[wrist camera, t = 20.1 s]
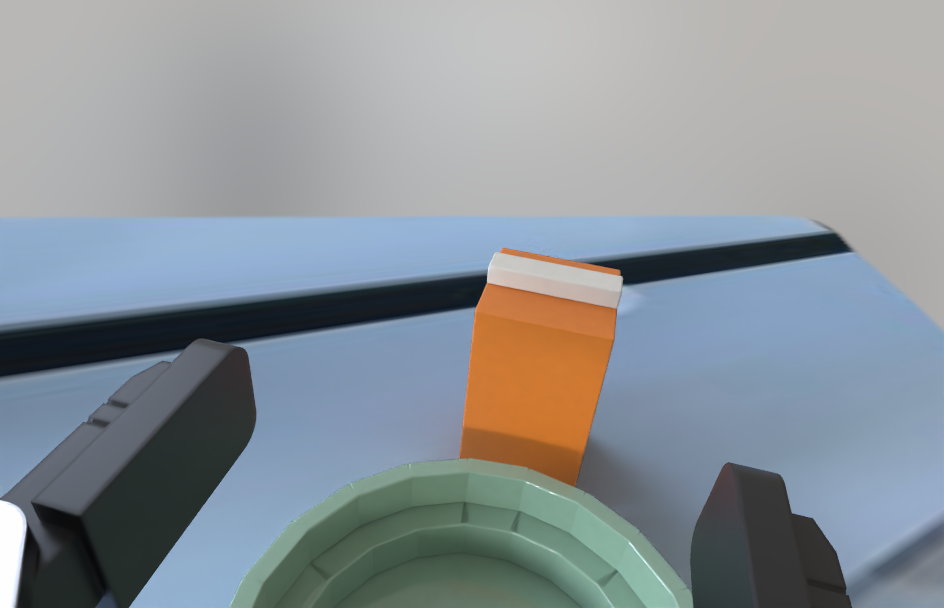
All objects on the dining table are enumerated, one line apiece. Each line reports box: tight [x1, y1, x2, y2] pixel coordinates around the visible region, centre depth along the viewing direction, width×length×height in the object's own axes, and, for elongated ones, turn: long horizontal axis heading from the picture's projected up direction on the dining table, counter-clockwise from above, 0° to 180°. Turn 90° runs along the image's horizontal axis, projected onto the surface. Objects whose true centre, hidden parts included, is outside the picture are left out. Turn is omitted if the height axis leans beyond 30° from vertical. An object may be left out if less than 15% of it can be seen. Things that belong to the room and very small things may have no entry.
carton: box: [459, 248, 623, 487], centre depth 26 cm, size 5×5×10 cm
